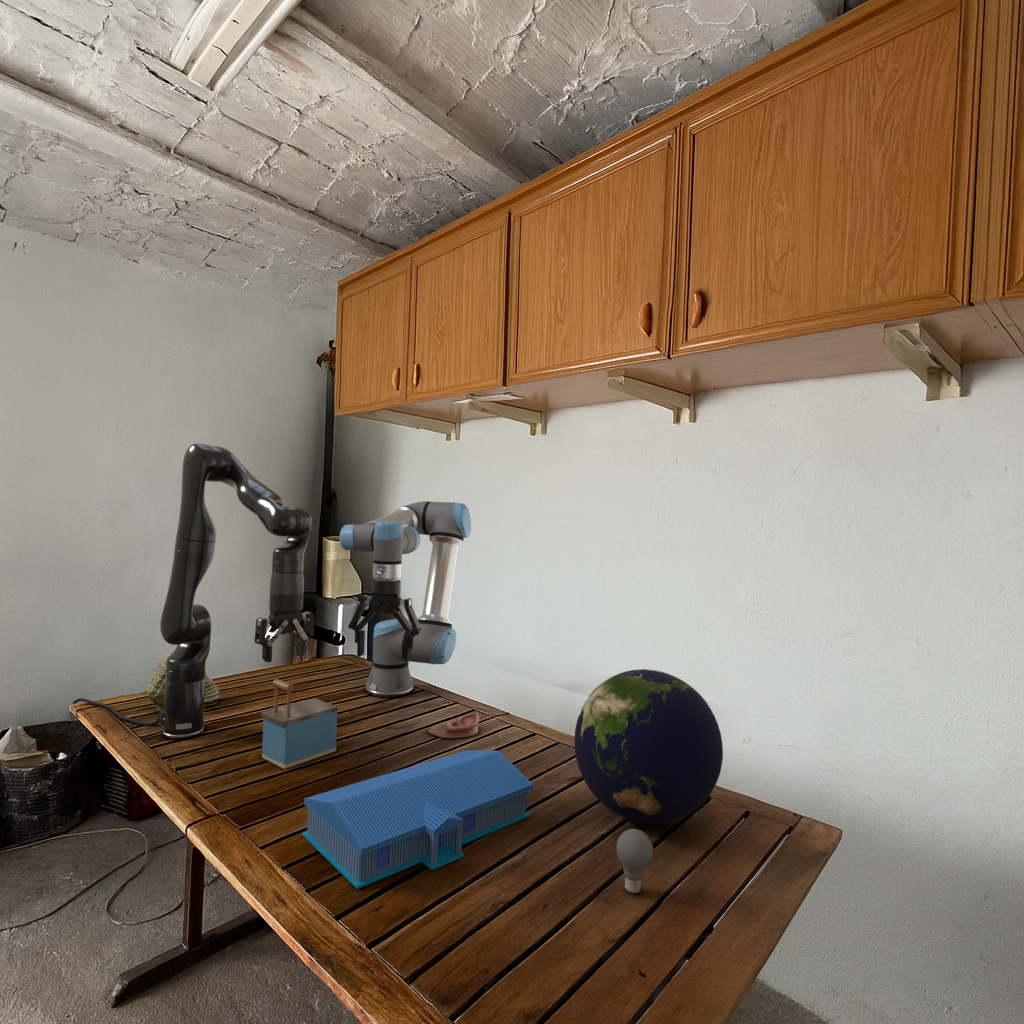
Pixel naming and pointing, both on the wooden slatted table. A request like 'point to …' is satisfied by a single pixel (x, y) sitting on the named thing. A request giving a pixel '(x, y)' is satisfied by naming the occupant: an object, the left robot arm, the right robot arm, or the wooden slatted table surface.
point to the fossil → (158, 687)
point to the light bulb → (634, 857)
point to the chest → (299, 740)
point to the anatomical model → (457, 727)
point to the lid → (295, 707)
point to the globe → (648, 746)
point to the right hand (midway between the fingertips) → (383, 657)
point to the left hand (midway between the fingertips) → (284, 658)
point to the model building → (416, 814)
